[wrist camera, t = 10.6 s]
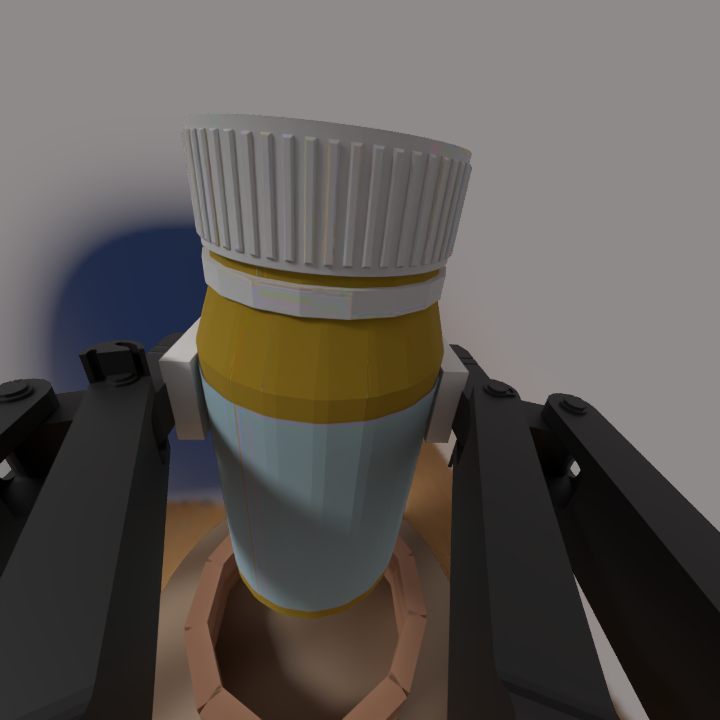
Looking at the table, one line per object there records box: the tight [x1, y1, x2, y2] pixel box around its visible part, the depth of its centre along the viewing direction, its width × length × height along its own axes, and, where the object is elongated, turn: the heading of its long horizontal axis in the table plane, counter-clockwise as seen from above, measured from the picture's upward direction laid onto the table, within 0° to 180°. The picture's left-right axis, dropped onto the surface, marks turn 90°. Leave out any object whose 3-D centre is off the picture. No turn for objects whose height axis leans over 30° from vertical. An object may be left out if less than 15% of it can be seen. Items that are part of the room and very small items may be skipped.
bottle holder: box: [152, 518, 450, 720], centre depth 18 cm, size 18×18×4 cm
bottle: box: [182, 114, 472, 619], centre depth 11 cm, size 7×7×15 cm
